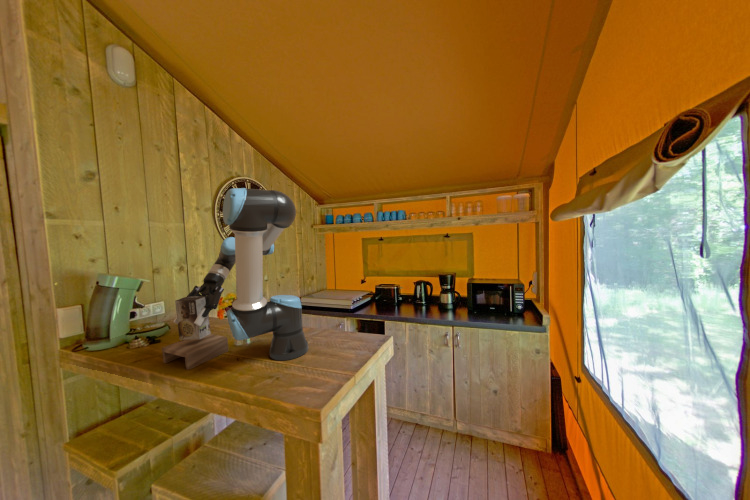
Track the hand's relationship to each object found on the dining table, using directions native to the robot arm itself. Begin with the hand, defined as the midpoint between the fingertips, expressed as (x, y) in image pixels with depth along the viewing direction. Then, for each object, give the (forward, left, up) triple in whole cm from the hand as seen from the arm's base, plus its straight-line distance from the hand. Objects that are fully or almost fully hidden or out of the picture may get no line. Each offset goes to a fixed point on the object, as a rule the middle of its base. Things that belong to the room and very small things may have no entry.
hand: (186, 323), depth 103 cm
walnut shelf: (0, -3, -15) cm, 15 cm away
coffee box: (+1, -3, -7) cm, 7 cm away
